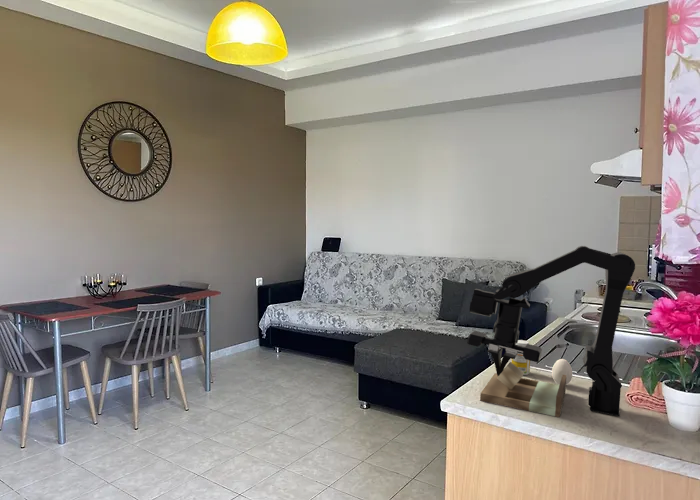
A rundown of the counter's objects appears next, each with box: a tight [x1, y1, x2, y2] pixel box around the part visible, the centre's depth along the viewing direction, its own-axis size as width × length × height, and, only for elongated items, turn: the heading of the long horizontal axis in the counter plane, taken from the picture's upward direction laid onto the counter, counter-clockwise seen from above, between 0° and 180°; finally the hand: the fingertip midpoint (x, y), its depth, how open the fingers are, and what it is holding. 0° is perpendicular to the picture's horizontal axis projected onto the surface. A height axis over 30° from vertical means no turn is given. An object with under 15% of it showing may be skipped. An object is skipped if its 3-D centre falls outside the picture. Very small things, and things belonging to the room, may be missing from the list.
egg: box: [551, 358, 573, 386], centre depth 136 cm, size 5×5×8 cm
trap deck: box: [479, 372, 567, 418], centre depth 126 cm, size 19×18×5 cm
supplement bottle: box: [511, 339, 531, 376], centre depth 146 cm, size 5×5×10 cm
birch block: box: [497, 361, 524, 389], centre depth 128 cm, size 4×4×4 cm
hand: (498, 375), depth 129 cm, fingers closed, pressing on birch block
